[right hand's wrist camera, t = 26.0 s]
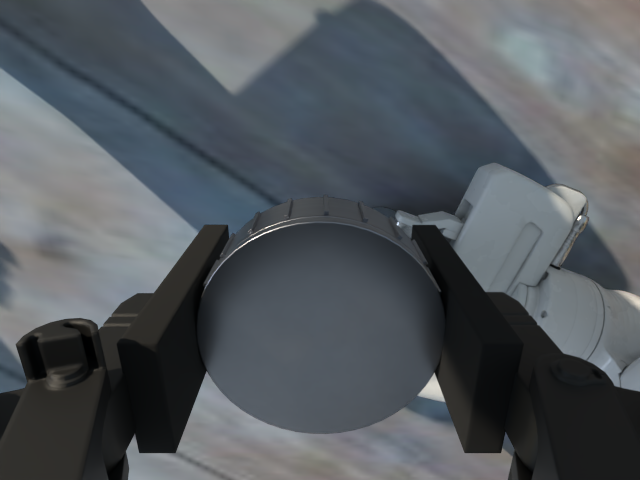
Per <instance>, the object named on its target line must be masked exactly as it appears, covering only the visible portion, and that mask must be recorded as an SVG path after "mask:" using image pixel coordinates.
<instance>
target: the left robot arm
mask: <svg viewBox="0 0 640 480" xmlns="http://www.w3.org/2000/svg"><path fill="white" fill-rule="evenodd" d="M580 211H581V214H580ZM587 212H588V201H587V198H586V197H585V195H584V194H583V193H582V192H580V191H578V190H576V189H573V188H571V187H568V186H566V185H563V184H551V185H548V186H546V187H544V186H542V185H540V184H539V183H537V182H535V181H533V180H531V179H530V178H528V177H526V176H524V175H522V174H520V173H518V172H516V171H514V170H511V169H509V168H507V167H505V166H503V165H500V164H498V163H490V164H487V165H484V166H481V167H479V168H478V170H477V171H476V173H475V175H474V177H473V179H472V181H471V183H470V185H469V187H468V189H467V191H466V193H465V195H464V197H463V199H462V201H461V203H460V205H459V206H458V208H457V210H456V212H455V214H454V215H452V214H449V213H446V212H444V211H439V212H434V213H428V214H422V215H418V216H414V215H412V214H409V213H406V212H404V211H400V210H397V212H396V214H395V217H394V220H395V222H396V224H397V225H398V226H399V227H400V228H401V229H402V230H403V231H404V232H405V233H406V235H407V236H408V237H409V238H410V239H411V235H412V225H436V226H437V228H438V229H439V230H440V232H441V233H442V234H443V236H444V237H445V238H446V240H447V241H448V242H449V244H450V245H451V246H452V248H453V249H454V250H455V252H456V253H457V254H458V256H459V257H460V258H461V260H462V261H463V263H464V264H465V265H466V267H467V268H468V269H469V271H470V272H471V273H472V275H473V276H474V277H475V279H476V280H477V281H478V283H479V284H480V285H481V287H482V288H483V289H484V291H485V292H504V293H505V294H507V295H509V296H510V297H512V298H514V299H515V300H517V301H519V302H520V303H521V305H522V306H523V307H524V308H525V309H526V310H527V312H528V313H529V315H531V316H532V317H533V319H534V320H535V321H536V322H537V325H540V327H541V328H542V329H543V330H544V331H545V332H546V334H547V335H548V336H549V337H550V338H551V339H552V341H553V342H554V343H555V344H556V345H557V346H558V348H559V349H560V350H561V351H562V352H563V353H564V354H568V355H572V356H576V357H579V358H582V359H584V360H586V361H588V362H590V363H593V364H594V365H596V366H597V367H599V368H600V369H601V370H603V371H604V372H605V373H606V374H607V375H608V376H609V378H610V379H611V380H612V382H613V384H614V386H617V387H621V388H625V389H630V390H635V391H640V297H639V296H637V295H634V294H632V293H629V292H625V291H620V290H608V289H605V288H603V287H602V286H600V285H599V284H598V283H596V282H595V281H594V280H592V279H590V278H588V277H586V276H583V275H580V274H578V273H575V272H572V271H570V270H567V269H564V268H561V265H562V264H563V262H564V260H565V259H566V257H567V256H568V254H569V252H570V251H571V249H572V248H571V247H573V244H574V242H575V240H576V238H577V237H578V236H579V234H580V233H582V232H583V230H584V229H585V227H586V225H587V223H588V221H589V217H587V216H586V215H587ZM417 396H420V397H424V398H427V399H431V400H436V401H440V402H445V399H444V397H443V394H442V391H441V389H440V386H439V383H438V381H437V378H436V375H435V373H434V374H433V376H432V377H431V379H430V380H429V382H428V383H427V385H426V386H425V387H424V389H423V390H422V391H421V392H420V393H419V394H418V395H417ZM445 403H446V402H445Z"/></svg>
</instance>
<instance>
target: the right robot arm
mask: <svg viewBox="0 0 640 480" xmlns="http://www.w3.org/2000/svg"><path fill="white" fill-rule="evenodd" d="M228 240H229V232H228V225H204V227H203V228H202V229H201V231H200V232H199V233H198V235H197V236H196V237H195V239H194V240H193V241H192V243H191V244H190V245H189V247H188V248H187V249H186V251H185V252H184V253H183V255H182V256H181V258H180V259H179V260H178V262H177V263H176V264H175V266H174V267H173V268H172V270H171V271H170V272H169V274H168V275H167V276H166V278H165V279H164V280H163V282H162V283H161V284H160V286H159V287H158V288H157V290H156V291H155V292H154V293H137V294H136V295H134V296H132V297H131V298H129V299H127V300H126V301H124V302H123V303H121V304H120V305H119V307H118V308H117V309H116V310H115V311H114V312H113V314H112V317H109V318H108V320H107V321H106V322H105V323H104V326H103V327H101V328H100V329H99V330H98V326H97V324H96V323H94V322H93V321H91V320H87V319H82V318H74V319H64V320H59V321H55V322H51V323H48V324H46V325H43V326H41V327H38V328H36V329H34V330H32V331H31V332H29V333H28V334H26V335H24V336H23V337H22V338H21V339H20V340H19V341H18V343H17V344H16V347H17V350H18V353H19V356H20V360H21V363H22V366H23V369H24V372H25V376H26V379H27V384H26V387H25V388H23V389H19V390H15V391H10V392H5V393H0V480H128V473H129V465H128V459H127V455H126V450H127V448H128V446H129V444H130V442H131V440H132V438H133V436H134V434H135V435H136V440H137V444H138V449H139V453H176V450H177V448H178V445H179V442H180V440H181V437H182V434H183V432H184V429H185V426H186V424H187V421H188V419H189V416H190V413H191V411H192V408H193V405H194V403H195V400H196V397H197V395H198V392H199V389H200V387H201V384H202V381H203V379H204V376H205V373H206V371H207V370H206V368H205V366H204V363H203V361H202V359H201V356H200V352H199V348H198V344H197V335H196V317H197V311H198V306H199V302H200V299H201V296H202V293H203V291H204V288H205V287H203V284H204V282H205V280H206V278H207V276H208V274H209V273H210V271H211V269H212V267H213V265H214V263H215V262H216V260H220V258H221V257H220V255H221V253H222V251H223V249H224V247H225V246H226V244H227V242H228ZM412 240H415V241H416V243H417V245H418V246H419V248H420V250H421V252H422V254H423V255H424V257H425V259H426V261H427V262H428V264H427V265H426V267H428V268H429V270H430V271H431V273H432V275H433V277H434V279H435V281H436V282H437V284H438V286H439V288H440V290H441V292H442V295H441V298H442V301H443V304H444V309H445V315H446V325H445V333H444V341H443V349H442V356H441V359H440V362H439V364H438V366H437V368H436V370H435V372H434V373H435V375H436V378H437V381H438V383H439V386H440V389H441V391H442V394H443V397H444V399H445V402H446V405H447V407H448V410H449V413H450V415H451V418H452V420H453V423H454V426H455V428H456V431H457V434H458V436H459V439H460V442H461V444H462V447H463V450H464V452H465V453H501V450H502V446H503V441H504V436H505V431H506V433H507V435H508V437H509V439H510V441H511V443H512V445H513V447H514V449H515V450H514V455H513V459H512V463H511V468H510V472H509V477H508V480H640V391H635V390H630V389H625V388H621V387H617V386H614V384H613V382H612V380H611V379H610V378H609V376H608V375H607V374H606V373H605V372H604V371H603V370H601V369H600V368H599V367H597V366H596V365H594V364H593V363H590V362H588V361H586V360H584V359H582V358H579V357H576V356H572V355H568V354H564V353H563V352H562V351H561V350H560V349H559V348H558V346H557V345H556V344H555V343H554V342H553V341H552V339H551V338H550V337H549V336H548V335H547V334H546V332H545V331H544V330H543V329H542V328H541V327H540V325H537V322H536V321H535V320H534V319H533V317H532V316H531V315H529V313H528V312H527V310H526V309H525V308H524V307H523V306H522V305H521V303H520V302H519V301H517V300H515V299H514V298H512V297H510V296H509V295H507V294H505V293H504V292H485V291H484V289H483V288H482V287H481V285H480V284H479V283H478V281H477V280H476V279H475V277H474V276H473V275H472V273H471V272H470V271H469V269H468V268H467V267H466V265H465V264H464V263H463V261H462V260H461V258H460V257H459V256H458V254H457V253H456V252H455V250H454V249H453V248H452V246H451V245H450V244H449V242H448V241H447V240H446V238H445V237H444V236H443V234H442V233H441V232H440V230H439V229H438V228H437V226H436V225H412V235H411V241H412Z"/></svg>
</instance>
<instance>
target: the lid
mask: <svg viewBox="0 0 640 480" xmlns="http://www.w3.org/2000/svg"><path fill="white" fill-rule="evenodd" d="M220 257H221V258H220V260H216V262H215V263H214V265H213V267H212V269H211V271H210V273H209V274H208V276H207V278H206V280H205V282H204V284H203V287H205V288H204V291H203V293H202V296H201V299H200V302H199V306H198V311H197V317H196V335H197V344H198V348H199V352H200V356H201V359H202V361H203V363H204V366H205V368H206V370H207V372H208V374H209V375H210V377H211V379H212V380H213V382H214V383H215V384H216V386H217V387H218V388H219V389H220V391H221V392H222V393H223V394H224V395H225V396H226V397H227V398H228V399H229V400H230V401H231V402H232V403H234V404H235V405H236V406H238V407H239V408H240V409H241V410H243V411H244V412H246V413H248V414H249V415H251V416H253V417H254V418H256V419H259V420H261V421H263V422H265V423H267V424H270V425H273V426H276V427H279V428H282V429H286V430H291V431H295V432H302V433H312V434H329V433H341V432H346V431H352V430H356V429H360V428H363V427H367V426H370V425H372V424H375V423H377V422H379V421H382V420H384V419H386V418H387V417H389V416H391V415H393V414H395V413H396V412H398V411H399V410H401V409H402V408H403V407H405V406H406V405H407V404H408V403H410V402H411V401H412V400H413V399H414V398H415V397H416V396H417V395H418V394H419V393H420V392H421V391H422V390H423V389H424V387H425V386H426V385H427V383H428V382H429V380H430V379H431V377H432V376H433V374H434V372H435V370H436V368H437V366H438V364H439V362H440V359H441V356H442V349H443V341H444V333H445V325H446V315H445V309H444V304H443V301H442V298H441V295H442V292H441V290H440V288H439V286H438V284H437V282H436V281H435V279H434V277H433V275H432V273H431V271H430V270H429V268H428V267H426V265H427V264H428V262H427V261H426V259H425V257H424V255H423V254H422V252H421V250H420V248H419V246H418V245H417V243H416V241H415V240H412V241H411V240H410V238H409V237H408V236H407V235H406V233H405V232H404V231H403V230H402V229H401V228H400V227H399V226H398V225H397V224H396V222H395V220H394V218H392V217H391V216H390V218H388V217H386V216H385V215H383V214H381V213H380V212H378V211H376V210H374V209H372V208H370V207H367V206H365V205H364V203H363V202H362V201H359V203H356V202H353V201H350V200H345V199H339V198H332V197H328V195H324V197H312V198H302V199H297V200H292V198H290V199H288V201H287V202H285V203H283V204H280V205H277V206H274V207H272V208H270V209H268V210H266V211H264V212H262V213H260V212H257V213H256V214H255V216H254V218H253V219H252V220H250V221H249V222H248V223H247V224H246V225H245V226H243V227H242V228H241V229H240V230H239V231H238V232H237V233H236V235H235V234H234V233H233V234H232V235H231V236H230V238H229V240H228V242H227V244H226V246H225V247H224V249H223V251H222V253H221V255H220Z"/></svg>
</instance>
